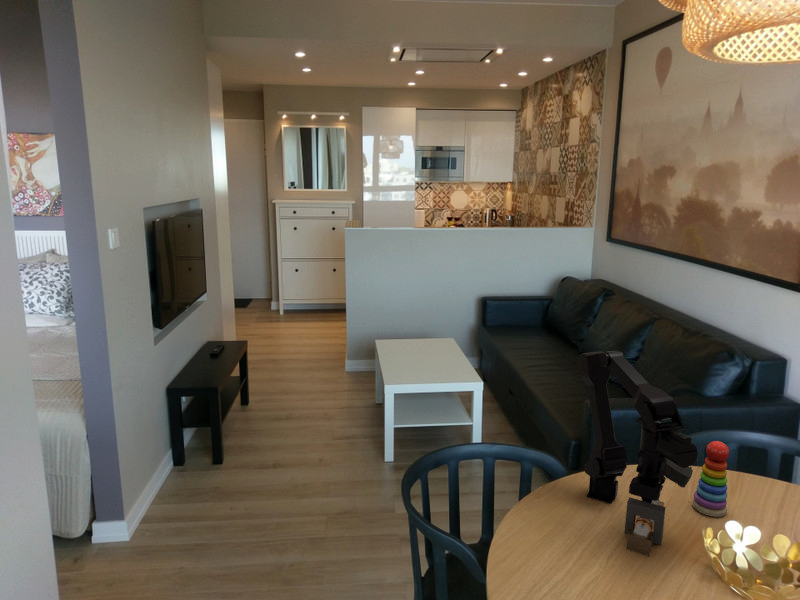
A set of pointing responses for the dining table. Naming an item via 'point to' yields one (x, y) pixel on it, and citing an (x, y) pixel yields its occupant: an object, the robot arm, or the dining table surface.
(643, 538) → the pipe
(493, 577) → the dining table surface
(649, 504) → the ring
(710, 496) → the stacking toy
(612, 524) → the dining table surface
